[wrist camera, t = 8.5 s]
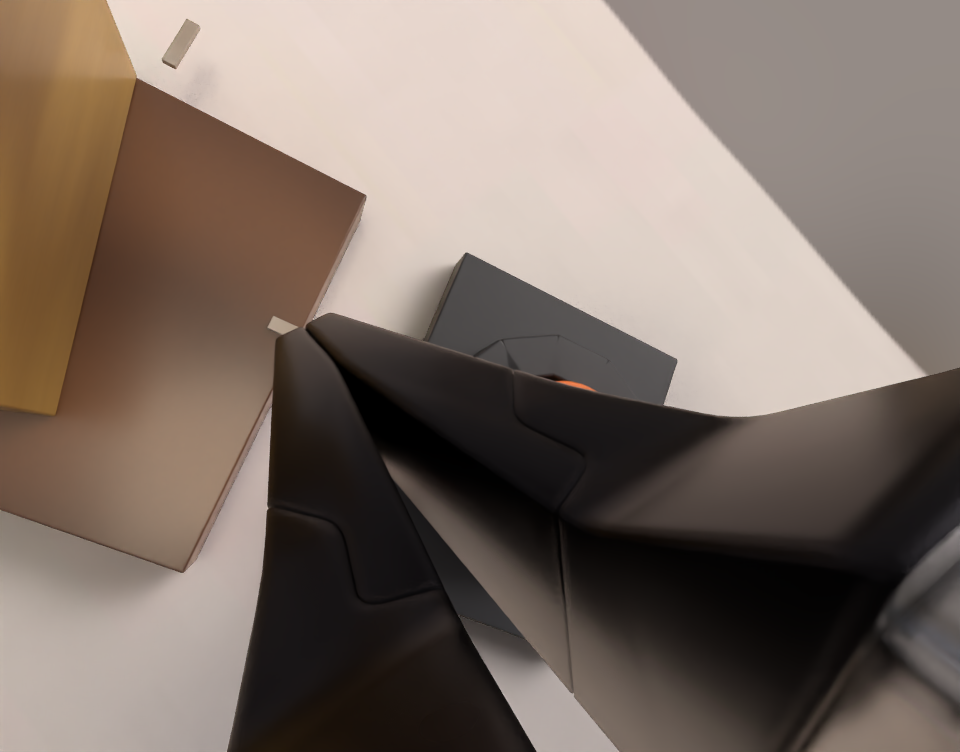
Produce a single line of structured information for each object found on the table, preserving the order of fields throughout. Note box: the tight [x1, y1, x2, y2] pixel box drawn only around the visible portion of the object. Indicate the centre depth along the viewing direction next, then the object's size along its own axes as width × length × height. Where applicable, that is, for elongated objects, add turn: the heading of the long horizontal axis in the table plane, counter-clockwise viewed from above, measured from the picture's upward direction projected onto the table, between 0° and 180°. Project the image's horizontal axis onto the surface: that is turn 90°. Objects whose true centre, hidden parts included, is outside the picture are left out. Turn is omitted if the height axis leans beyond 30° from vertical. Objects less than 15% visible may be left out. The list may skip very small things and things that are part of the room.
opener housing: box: [392, 253, 677, 640], centre depth 18 cm, size 10×8×3 cm
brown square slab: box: [0, 19, 366, 573], centre depth 16 cm, size 13×13×2 cm
